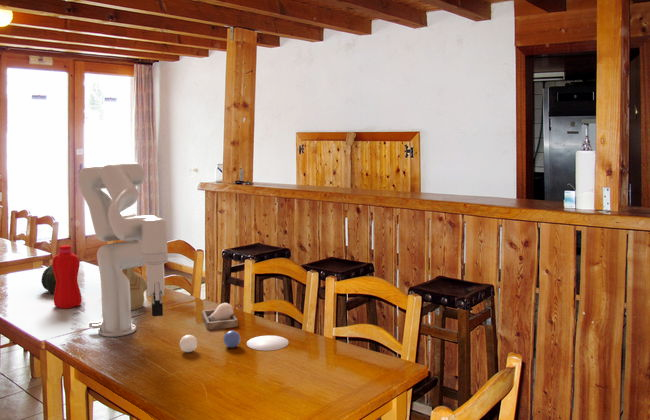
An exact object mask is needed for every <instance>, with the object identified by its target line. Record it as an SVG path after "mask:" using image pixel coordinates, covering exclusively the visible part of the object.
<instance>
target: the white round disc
mask: <svg viewBox="0 0 650 420" xmlns="http://www.w3.org/2000/svg"><path fill="white" fill-rule="evenodd" d="M289 343H290V342H289V340H288V339H287V338H286V337H283V336H279V335H260V336H255V337H252V338H250V339H249V340H247V342H246V346H247V347H248V348H250V349H252V350H256V351H265V352H267V351H268V352H269V351H277V350H281V349H284V348H285V347H287V346H288V345H289Z"/></svg>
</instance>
